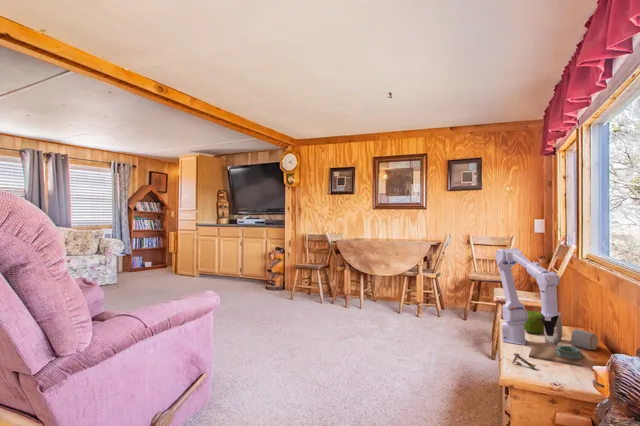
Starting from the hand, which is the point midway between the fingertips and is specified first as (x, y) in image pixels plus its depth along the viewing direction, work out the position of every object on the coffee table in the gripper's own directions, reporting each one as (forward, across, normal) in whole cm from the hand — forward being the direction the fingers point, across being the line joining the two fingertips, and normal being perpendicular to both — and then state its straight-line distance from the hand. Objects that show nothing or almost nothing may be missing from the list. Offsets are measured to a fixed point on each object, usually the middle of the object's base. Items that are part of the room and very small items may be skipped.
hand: (550, 334), depth 149 cm
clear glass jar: (+4, 0, 0) cm, 4 cm away
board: (+10, +3, -1) cm, 10 cm away
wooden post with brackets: (+10, -16, +8) cm, 20 cm away
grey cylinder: (+10, +22, -11) cm, 27 cm away
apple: (+10, +34, +11) cm, 37 cm away
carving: (+10, +25, +2) cm, 27 cm away
